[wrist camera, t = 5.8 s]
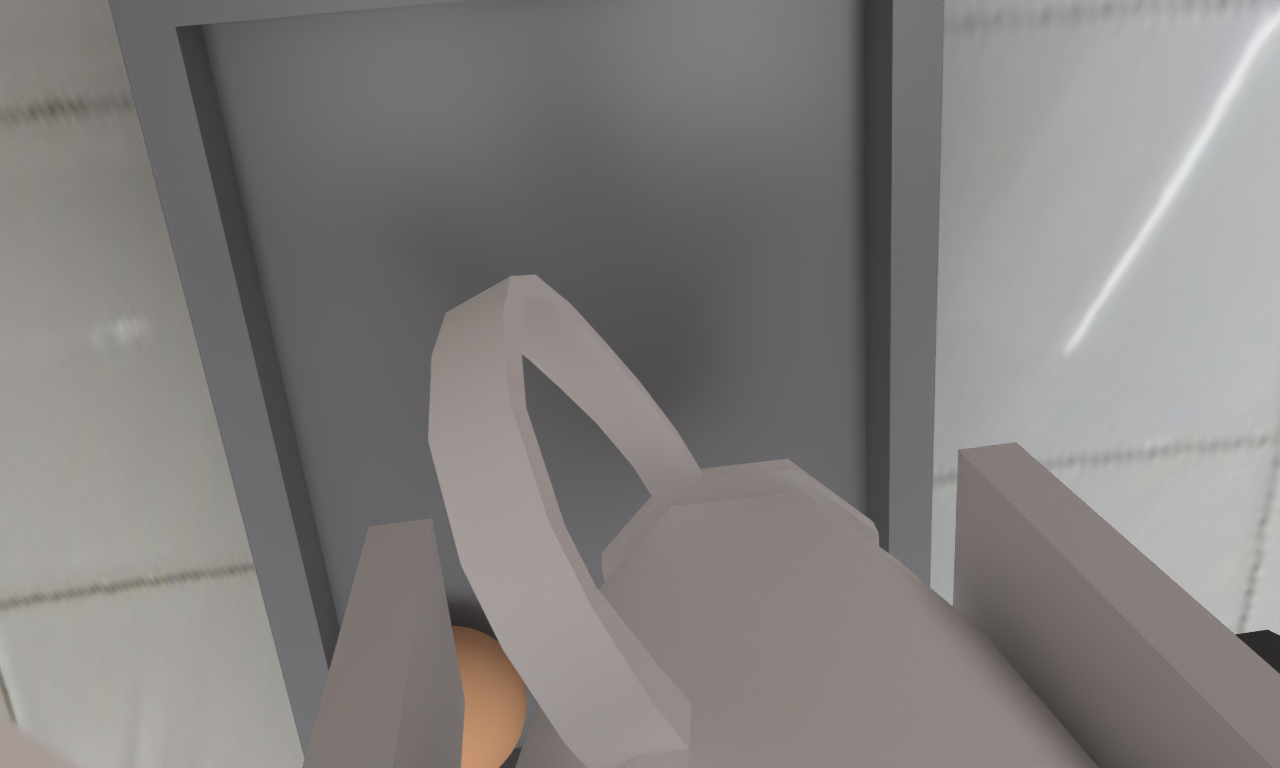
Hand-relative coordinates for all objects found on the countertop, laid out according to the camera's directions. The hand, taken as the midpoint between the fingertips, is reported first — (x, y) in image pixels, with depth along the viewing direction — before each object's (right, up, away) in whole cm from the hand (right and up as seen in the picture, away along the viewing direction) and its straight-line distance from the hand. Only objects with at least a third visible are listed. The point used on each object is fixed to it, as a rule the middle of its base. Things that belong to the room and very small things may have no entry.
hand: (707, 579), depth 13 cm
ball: (-6, -4, +12) cm, 14 cm away
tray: (-2, +2, +11) cm, 11 cm away
